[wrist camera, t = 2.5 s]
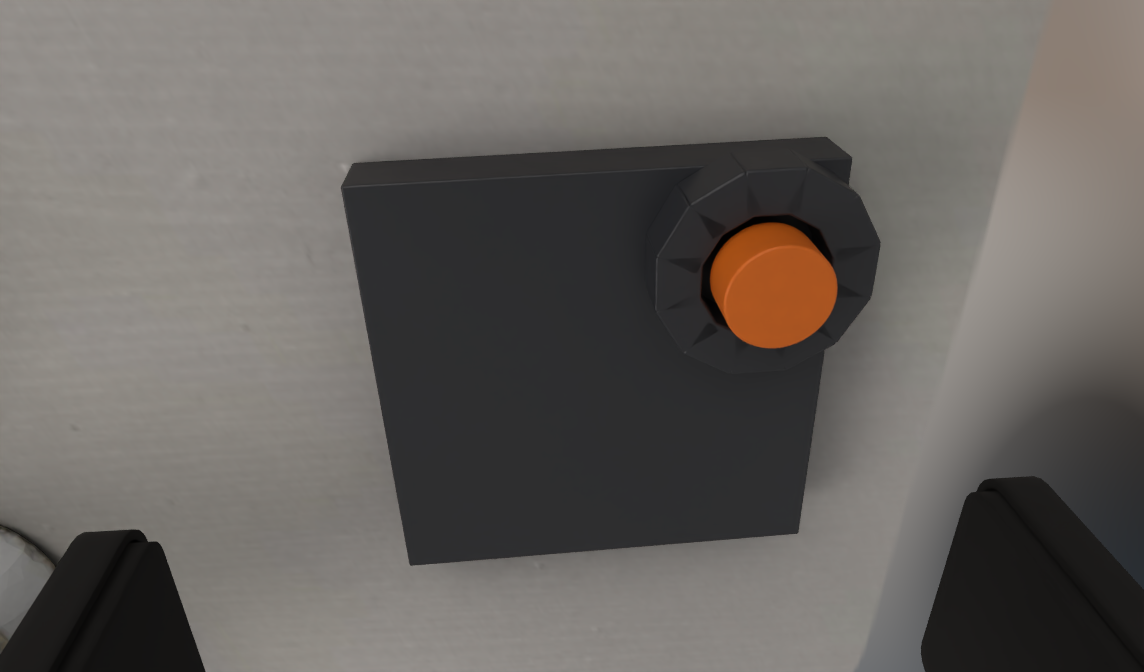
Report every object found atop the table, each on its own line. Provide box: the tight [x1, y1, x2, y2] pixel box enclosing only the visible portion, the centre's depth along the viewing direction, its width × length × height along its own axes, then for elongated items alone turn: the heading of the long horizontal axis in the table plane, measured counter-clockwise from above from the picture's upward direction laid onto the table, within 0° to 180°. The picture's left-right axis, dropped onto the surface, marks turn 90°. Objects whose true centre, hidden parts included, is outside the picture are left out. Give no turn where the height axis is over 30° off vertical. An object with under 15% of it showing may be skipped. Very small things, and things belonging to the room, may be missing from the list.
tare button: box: [710, 222, 838, 348], centre depth 20 cm, size 3×3×2 cm
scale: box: [341, 137, 880, 566], centre depth 24 cm, size 13×13×4 cm
